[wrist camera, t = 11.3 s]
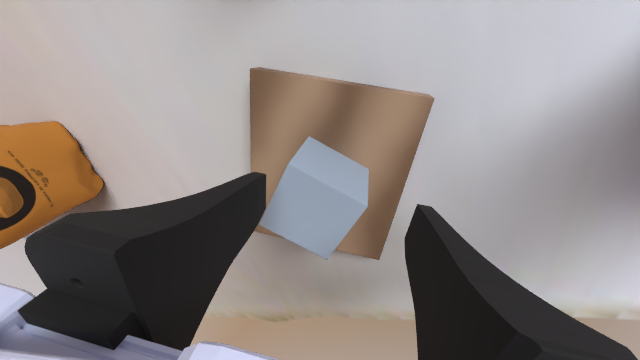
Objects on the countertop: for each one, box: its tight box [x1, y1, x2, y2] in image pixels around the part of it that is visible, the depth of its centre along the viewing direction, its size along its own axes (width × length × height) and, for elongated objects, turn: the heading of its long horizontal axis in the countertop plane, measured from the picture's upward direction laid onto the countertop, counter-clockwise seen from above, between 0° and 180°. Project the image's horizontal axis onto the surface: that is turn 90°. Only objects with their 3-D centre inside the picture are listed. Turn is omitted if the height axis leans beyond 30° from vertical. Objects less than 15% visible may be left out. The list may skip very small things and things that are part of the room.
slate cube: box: [259, 136, 369, 260], centre depth 17 cm, size 5×5×5 cm
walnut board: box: [250, 67, 434, 260], centre depth 20 cm, size 12×14×2 cm
